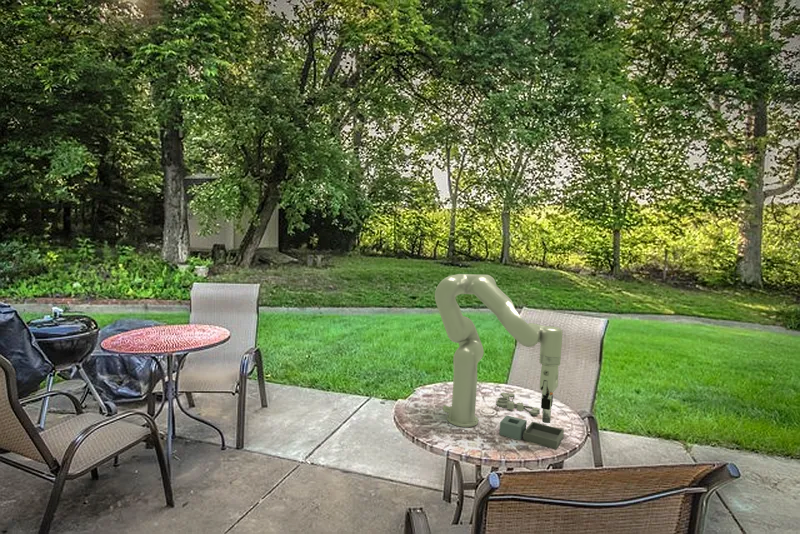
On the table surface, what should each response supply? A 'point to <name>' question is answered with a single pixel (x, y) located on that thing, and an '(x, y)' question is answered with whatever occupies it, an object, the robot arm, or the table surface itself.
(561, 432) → the parts tray
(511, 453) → the table surface
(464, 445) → the table surface
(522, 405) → the pulley system
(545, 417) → the pin
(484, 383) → the table surface
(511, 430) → the block
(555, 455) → the table surface
